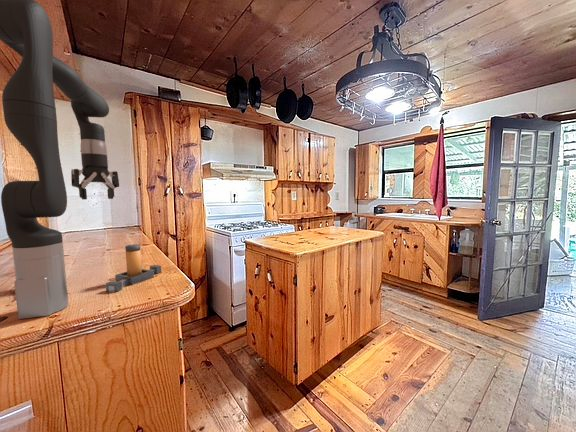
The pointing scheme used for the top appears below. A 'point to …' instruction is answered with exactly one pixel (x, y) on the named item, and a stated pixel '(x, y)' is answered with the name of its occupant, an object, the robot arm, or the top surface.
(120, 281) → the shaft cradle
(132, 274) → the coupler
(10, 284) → the top surface
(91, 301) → the top surface
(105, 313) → the top surface
